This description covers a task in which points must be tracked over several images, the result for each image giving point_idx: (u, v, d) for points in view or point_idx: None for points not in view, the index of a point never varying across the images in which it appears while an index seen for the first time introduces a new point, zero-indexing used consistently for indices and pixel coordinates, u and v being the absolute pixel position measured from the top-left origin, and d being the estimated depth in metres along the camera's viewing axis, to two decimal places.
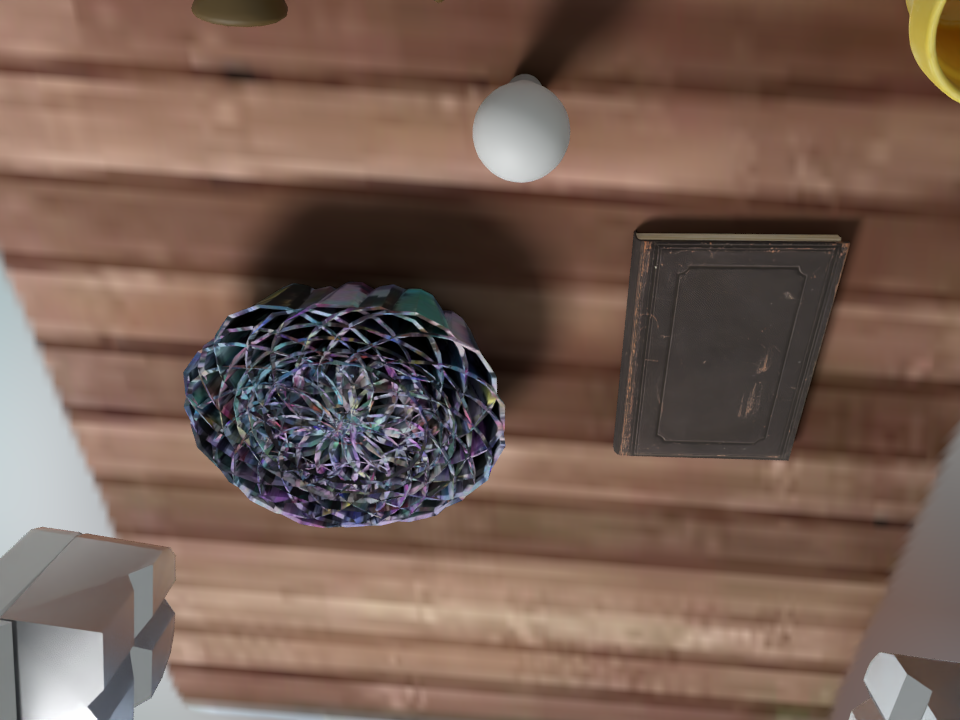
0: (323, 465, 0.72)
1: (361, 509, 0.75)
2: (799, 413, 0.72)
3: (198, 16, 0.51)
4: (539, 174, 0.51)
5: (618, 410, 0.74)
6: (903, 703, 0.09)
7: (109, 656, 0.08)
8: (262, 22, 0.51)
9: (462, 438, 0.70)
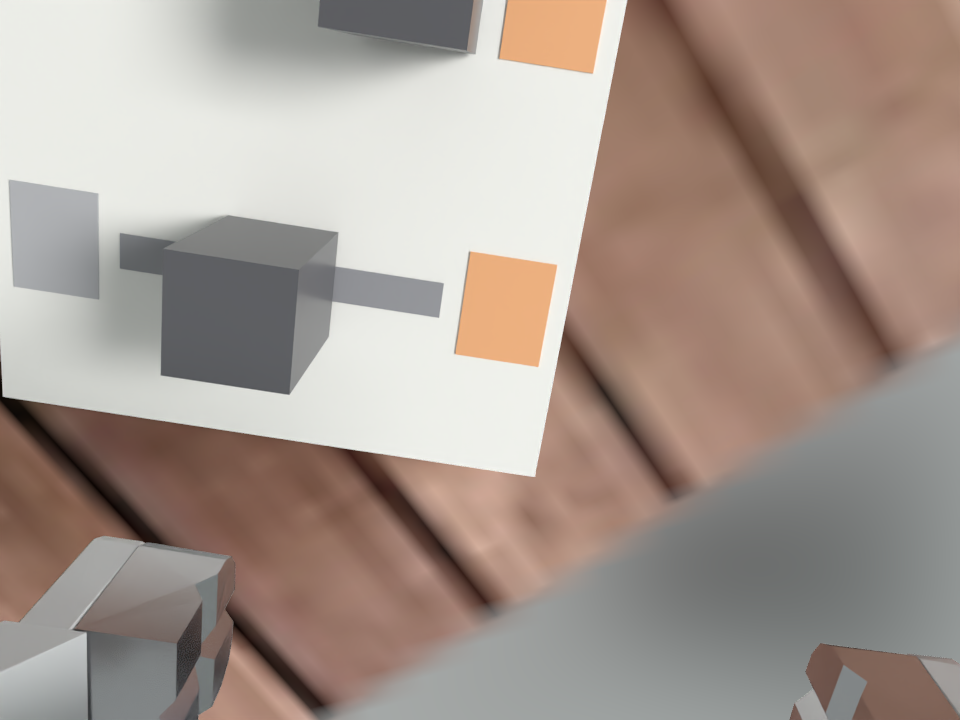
0: None
1: None
2: None
3: None
4: None
5: None
6: (840, 694, 0.09)
7: (180, 666, 0.08)
8: None
9: None
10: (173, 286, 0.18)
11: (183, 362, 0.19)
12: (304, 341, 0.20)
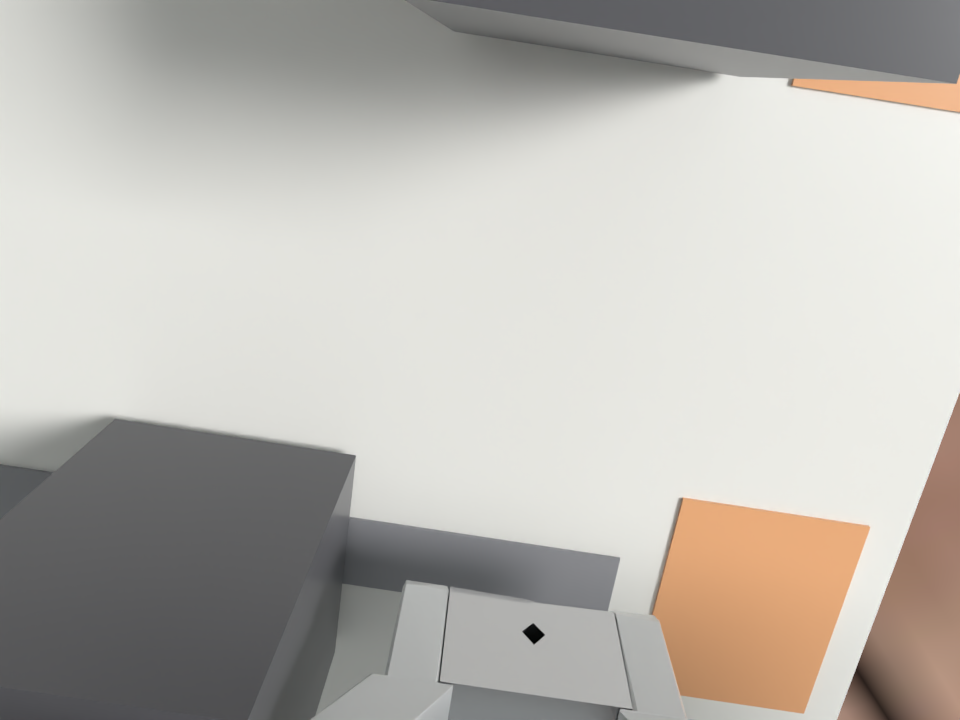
0: None
1: None
2: None
3: None
4: None
5: None
6: None
7: (532, 717, 0.08)
8: None
9: None
10: None
11: None
12: None
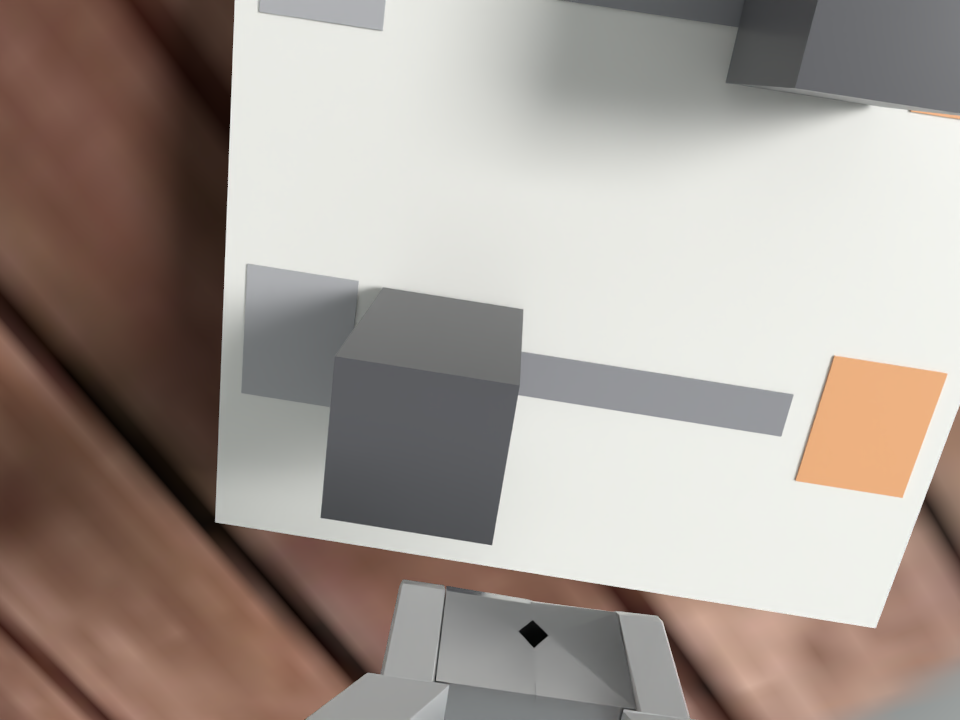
0: None
1: None
2: None
3: None
4: None
5: None
6: None
7: (529, 716, 0.08)
8: None
9: None
10: (344, 404, 0.13)
11: (352, 502, 0.14)
12: None
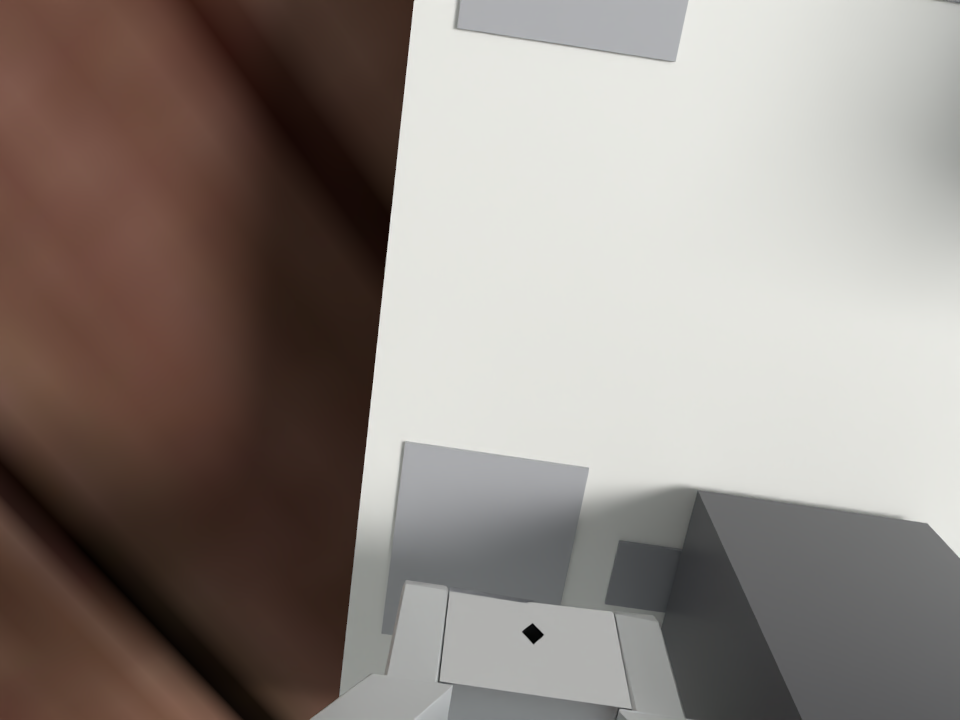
0: None
1: None
2: None
3: None
4: None
5: None
6: None
7: (532, 716, 0.08)
8: None
9: None
10: None
11: None
12: None
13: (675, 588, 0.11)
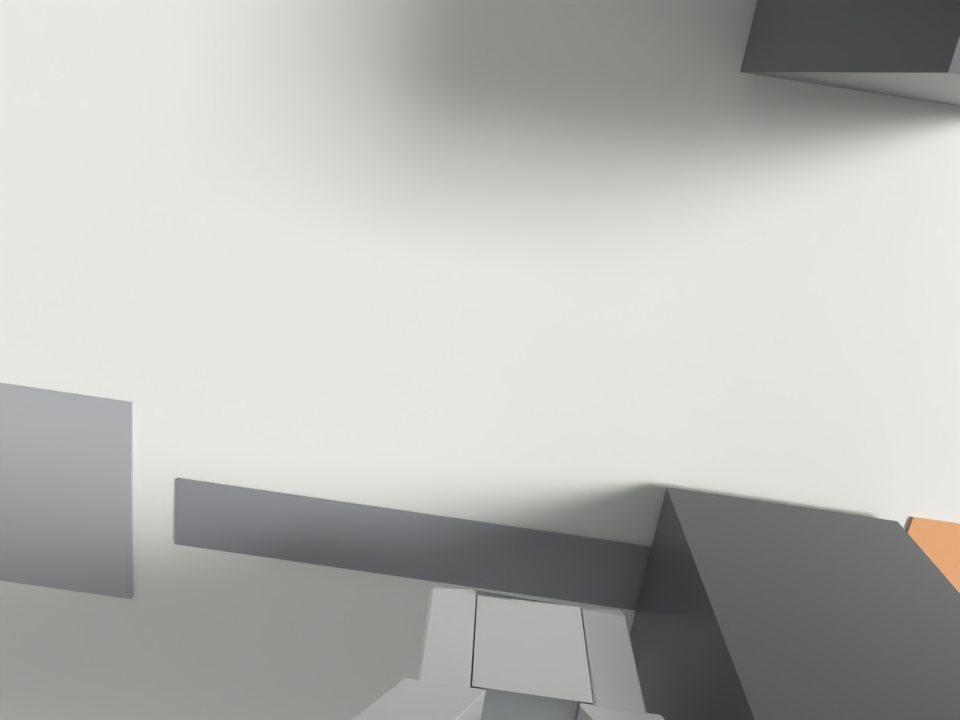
0: None
1: None
2: None
3: None
4: None
5: None
6: None
7: None
8: None
9: None
10: None
11: None
12: None
13: (645, 586, 0.11)
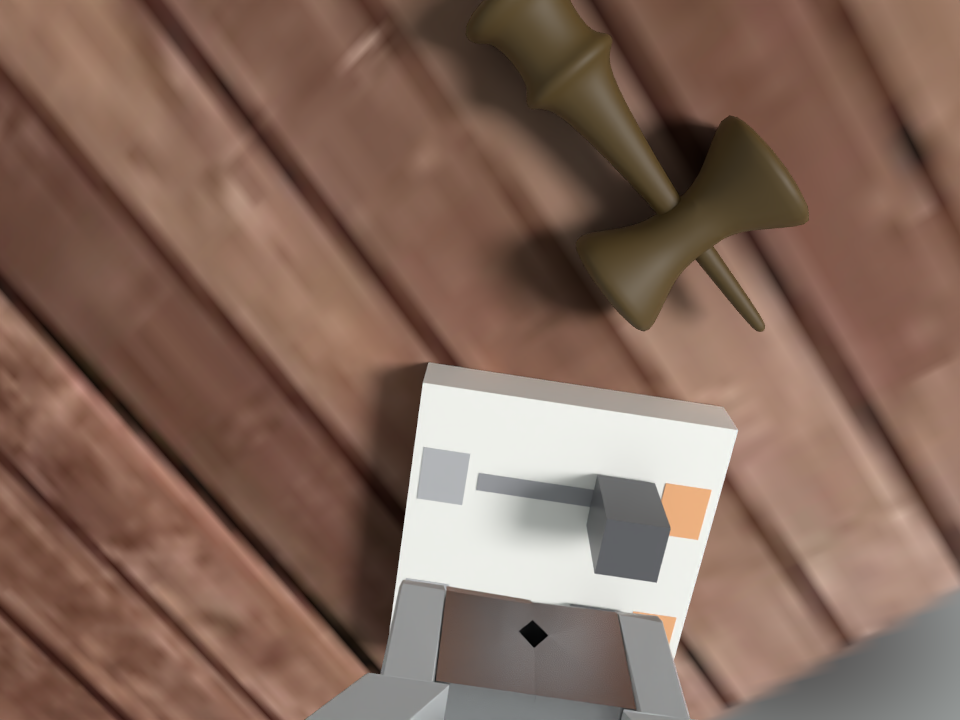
0: None
1: None
2: None
3: (805, 212, 0.35)
4: None
5: None
6: None
7: (529, 716, 0.08)
8: (752, 138, 0.34)
9: None
10: None
11: None
12: None
13: None
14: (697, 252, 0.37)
